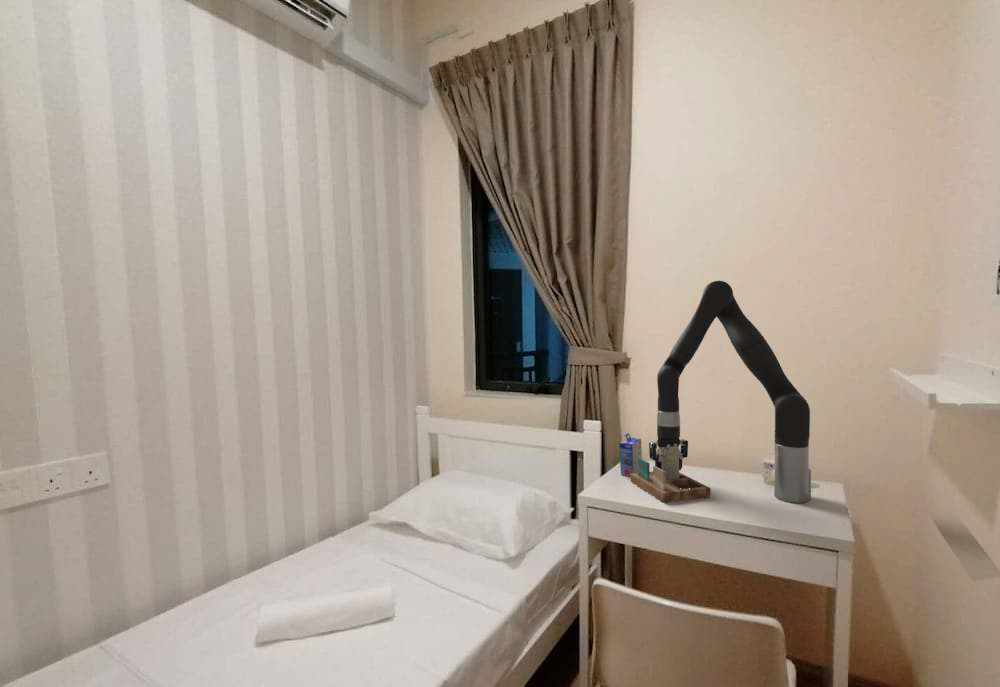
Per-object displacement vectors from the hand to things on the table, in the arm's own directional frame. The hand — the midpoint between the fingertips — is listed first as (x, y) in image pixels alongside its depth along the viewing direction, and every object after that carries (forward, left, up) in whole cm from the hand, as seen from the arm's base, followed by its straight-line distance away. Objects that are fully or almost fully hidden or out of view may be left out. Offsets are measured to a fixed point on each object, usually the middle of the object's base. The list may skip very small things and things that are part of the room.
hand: (668, 470), depth 170 cm
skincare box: (0, 0, -4) cm, 4 cm away
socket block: (+3, +5, -5) cm, 7 cm away
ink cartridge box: (+6, -15, -5) cm, 17 cm away
